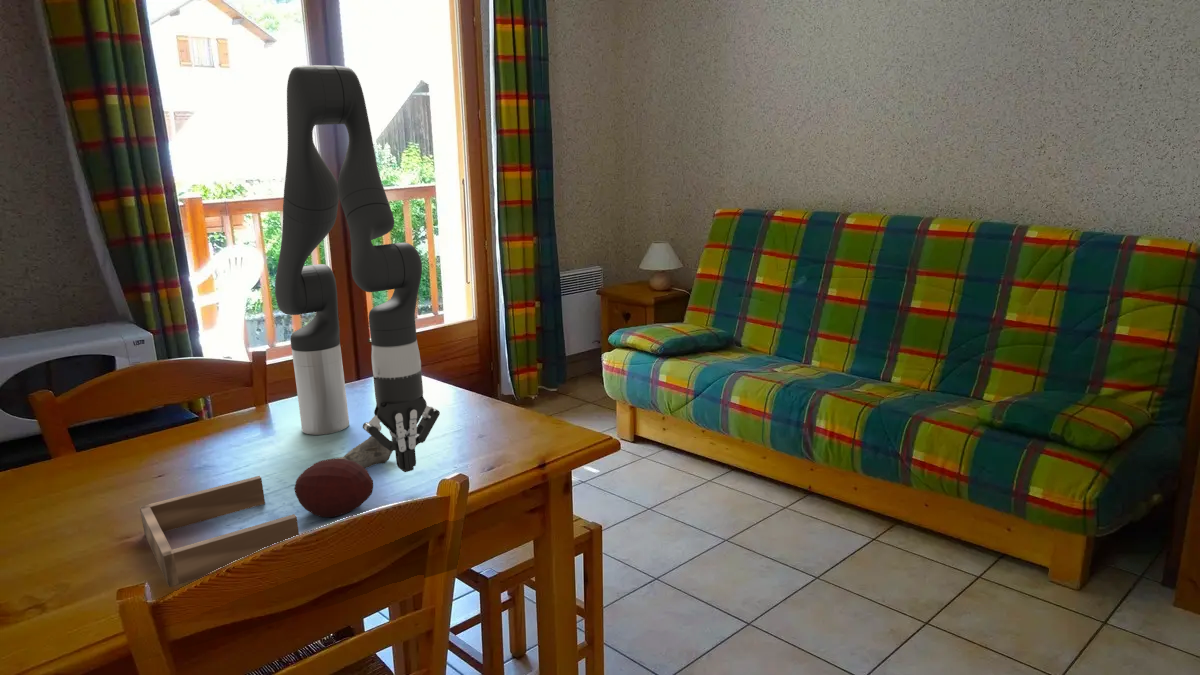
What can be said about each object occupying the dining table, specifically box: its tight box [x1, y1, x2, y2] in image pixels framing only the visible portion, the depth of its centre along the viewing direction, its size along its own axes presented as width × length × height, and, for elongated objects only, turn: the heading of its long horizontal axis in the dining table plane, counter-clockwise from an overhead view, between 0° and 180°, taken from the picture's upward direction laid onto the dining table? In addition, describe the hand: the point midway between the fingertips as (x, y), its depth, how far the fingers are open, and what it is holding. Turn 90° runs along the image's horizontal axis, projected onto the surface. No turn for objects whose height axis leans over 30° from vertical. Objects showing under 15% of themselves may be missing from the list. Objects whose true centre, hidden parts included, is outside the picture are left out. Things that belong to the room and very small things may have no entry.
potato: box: [293, 457, 374, 518], centre depth 127 cm, size 12×11×8 cm
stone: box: [336, 435, 393, 470], centre depth 145 cm, size 10×5×8 cm
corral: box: [139, 475, 300, 588], centre depth 119 cm, size 19×17×4 cm
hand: (406, 469), depth 134 cm, fingers closed
